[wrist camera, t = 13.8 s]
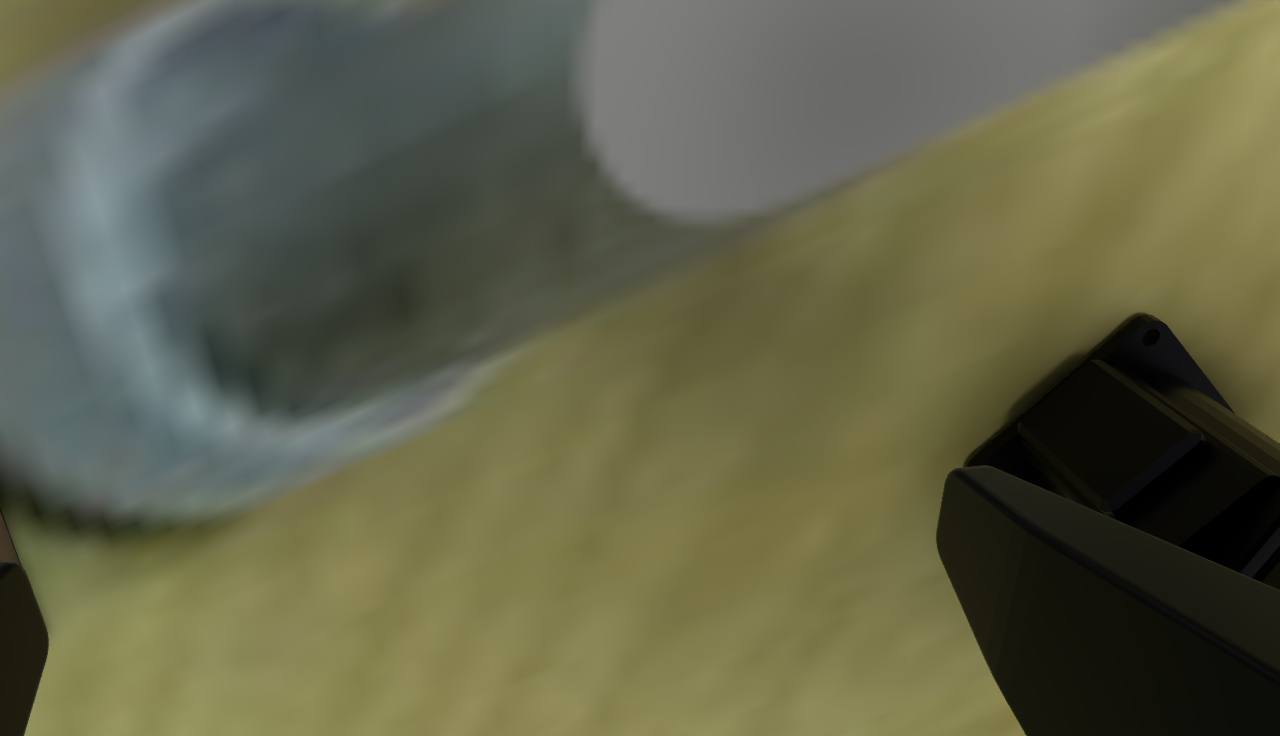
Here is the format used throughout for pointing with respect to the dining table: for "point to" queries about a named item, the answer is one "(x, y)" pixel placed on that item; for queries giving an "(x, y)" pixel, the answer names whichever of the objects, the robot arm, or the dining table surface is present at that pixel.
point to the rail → (6, 544)
